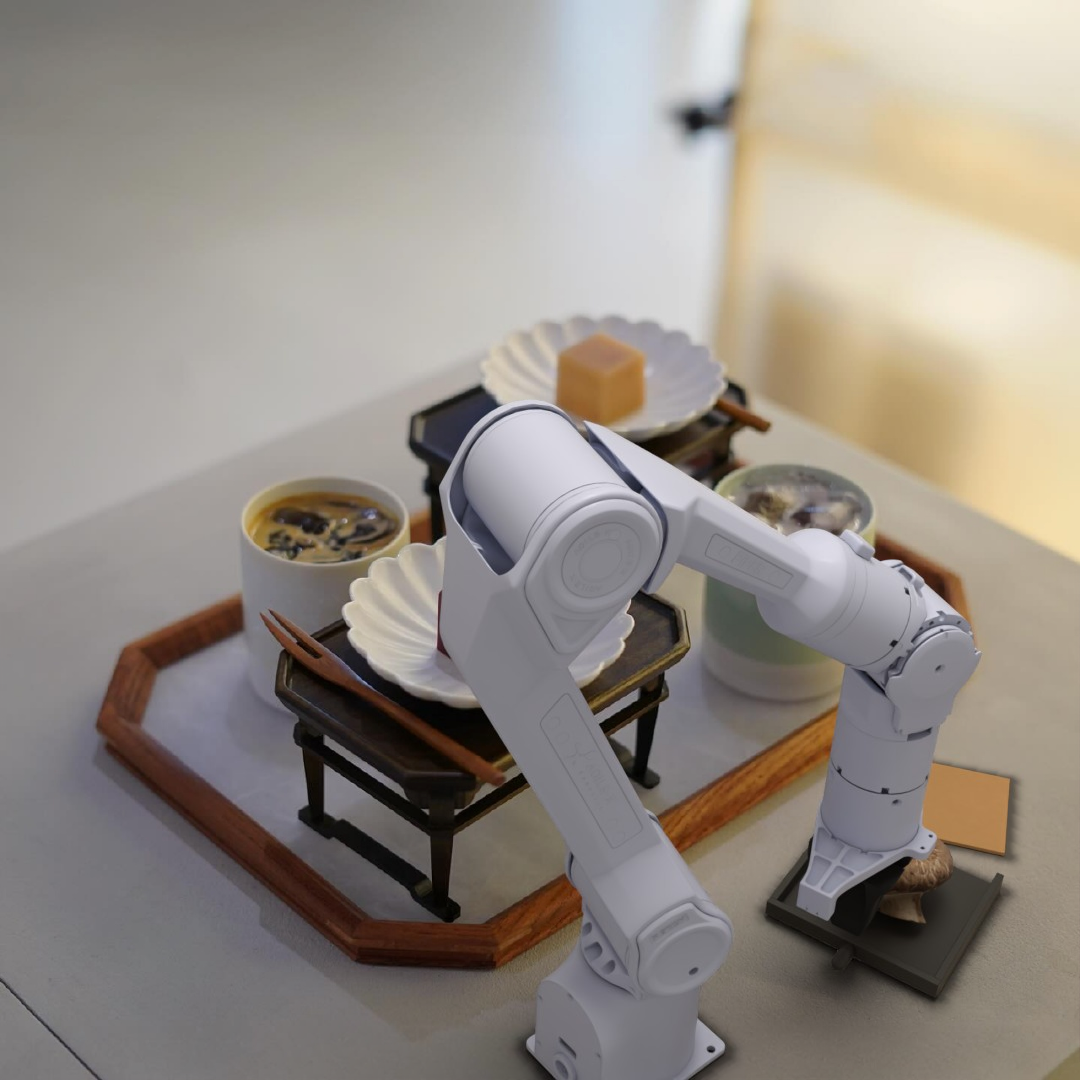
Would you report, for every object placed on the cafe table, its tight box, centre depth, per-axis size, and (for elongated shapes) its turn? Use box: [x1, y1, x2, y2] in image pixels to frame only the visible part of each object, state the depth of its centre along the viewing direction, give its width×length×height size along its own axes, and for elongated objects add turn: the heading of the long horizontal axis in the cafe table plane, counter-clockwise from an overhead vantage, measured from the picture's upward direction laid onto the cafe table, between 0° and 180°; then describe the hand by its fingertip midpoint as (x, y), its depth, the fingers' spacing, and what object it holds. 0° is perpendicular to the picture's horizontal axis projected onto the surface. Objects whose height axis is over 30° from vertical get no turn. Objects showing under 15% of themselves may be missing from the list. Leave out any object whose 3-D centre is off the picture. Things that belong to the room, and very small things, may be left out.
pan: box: [764, 847, 1005, 998], centre depth 101 cm, size 14×12×2 cm
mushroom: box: [878, 838, 955, 924], centre depth 101 cm, size 8×8×6 cm
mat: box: [922, 762, 1011, 857], centre depth 110 cm, size 8×8×1 cm
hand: (849, 923), depth 95 cm, fingers closed
